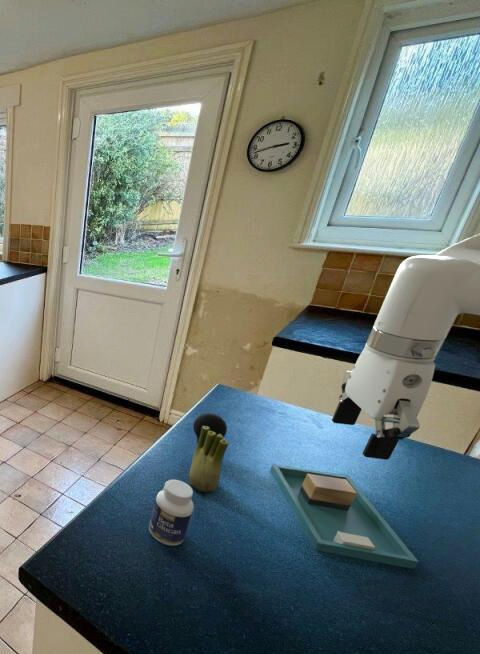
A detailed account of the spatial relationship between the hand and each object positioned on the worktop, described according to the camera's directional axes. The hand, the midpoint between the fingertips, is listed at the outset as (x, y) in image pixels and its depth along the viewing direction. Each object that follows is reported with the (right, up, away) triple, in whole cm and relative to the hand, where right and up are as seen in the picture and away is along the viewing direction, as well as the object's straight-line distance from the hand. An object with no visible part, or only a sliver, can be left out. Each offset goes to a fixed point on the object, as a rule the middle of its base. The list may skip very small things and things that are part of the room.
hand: (357, 439), depth 68 cm
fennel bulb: (-20, -11, +10) cm, 25 cm away
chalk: (-4, -16, -4) cm, 17 cm away
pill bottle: (-32, -16, 0) cm, 35 cm away
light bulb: (-15, -7, +18) cm, 25 cm away
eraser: (-1, -12, +6) cm, 13 cm away
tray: (-1, -14, +3) cm, 14 cm away
